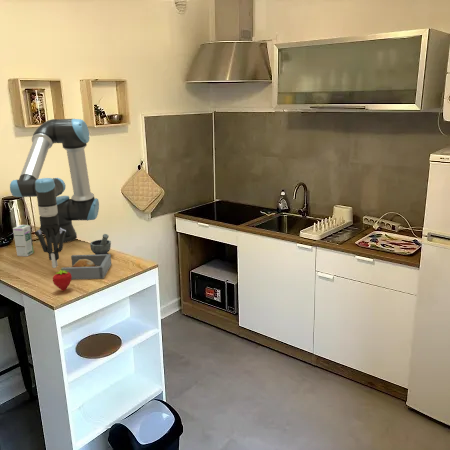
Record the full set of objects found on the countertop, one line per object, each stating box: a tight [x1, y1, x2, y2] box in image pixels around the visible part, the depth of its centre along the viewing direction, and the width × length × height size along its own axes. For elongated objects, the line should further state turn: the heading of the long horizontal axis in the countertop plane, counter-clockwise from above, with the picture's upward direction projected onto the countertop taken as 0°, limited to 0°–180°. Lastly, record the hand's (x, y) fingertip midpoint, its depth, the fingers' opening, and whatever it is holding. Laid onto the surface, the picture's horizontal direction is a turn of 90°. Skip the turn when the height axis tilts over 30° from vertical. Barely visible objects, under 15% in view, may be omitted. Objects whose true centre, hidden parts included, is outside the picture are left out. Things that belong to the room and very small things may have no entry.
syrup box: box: [12, 224, 35, 257], centre depth 224 cm, size 6×6×14 cm
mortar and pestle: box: [89, 233, 112, 255], centre depth 220 cm, size 11×9×12 cm
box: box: [60, 253, 112, 281], centre depth 202 cm, size 17×18×5 cm
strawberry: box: [52, 269, 72, 292], centre depth 182 cm, size 6×8×10 cm
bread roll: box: [73, 259, 97, 267], centre depth 202 cm, size 10×10×8 cm
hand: (55, 266), depth 201 cm, fingers closed
